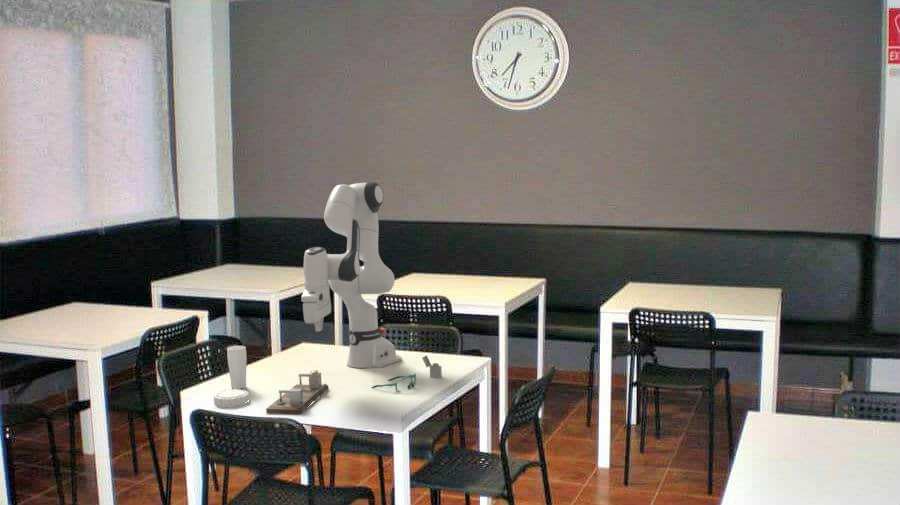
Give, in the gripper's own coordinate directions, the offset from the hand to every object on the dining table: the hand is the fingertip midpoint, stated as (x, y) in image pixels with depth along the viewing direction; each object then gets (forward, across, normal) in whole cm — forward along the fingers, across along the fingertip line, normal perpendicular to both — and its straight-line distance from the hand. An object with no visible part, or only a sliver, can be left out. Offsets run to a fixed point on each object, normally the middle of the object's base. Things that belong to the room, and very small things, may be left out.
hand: (319, 330), depth 358 cm
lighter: (+21, -17, +38) cm, 46 cm away
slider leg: (+19, +7, -2) cm, 20 cm away
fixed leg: (+19, +18, -1) cm, 26 cm away
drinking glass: (+21, +4, -30) cm, 37 cm away
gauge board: (+21, +18, -2) cm, 28 cm away
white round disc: (+21, +22, -26) cm, 40 cm away
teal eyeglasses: (+21, -3, +27) cm, 35 cm away
